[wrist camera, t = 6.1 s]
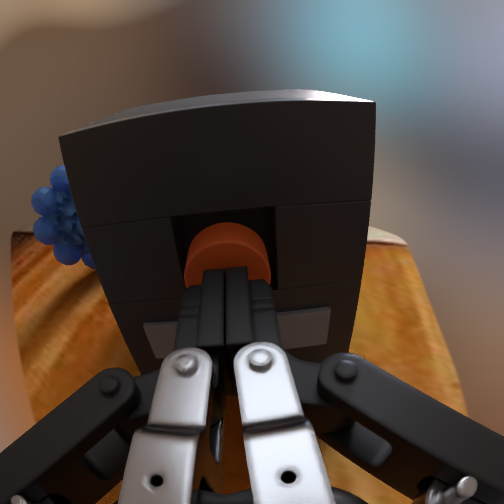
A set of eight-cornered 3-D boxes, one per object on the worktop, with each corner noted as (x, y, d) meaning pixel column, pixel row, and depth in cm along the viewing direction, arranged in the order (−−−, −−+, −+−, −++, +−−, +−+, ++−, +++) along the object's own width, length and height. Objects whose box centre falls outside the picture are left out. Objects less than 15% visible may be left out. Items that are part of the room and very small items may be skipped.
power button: (192, 315, 12) (176, 246, 11) (195, 291, 14) (182, 226, 12) (272, 308, 12) (269, 237, 11) (268, 284, 14) (264, 217, 12)
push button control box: (152, 401, 18) (54, 138, 10) (171, 299, 27) (131, 108, 19) (342, 385, 18) (379, 102, 10) (310, 286, 27) (310, 89, 19)
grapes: (63, 308, 26) (17, 191, 20) (52, 278, 31) (17, 179, 24) (163, 260, 32) (139, 147, 26) (138, 239, 37) (116, 143, 31)
